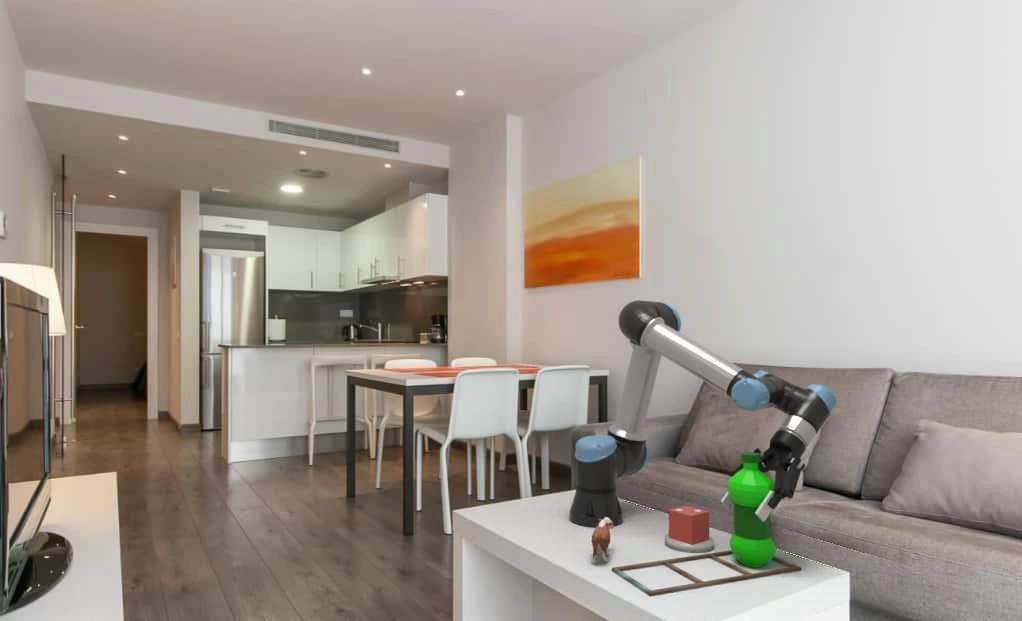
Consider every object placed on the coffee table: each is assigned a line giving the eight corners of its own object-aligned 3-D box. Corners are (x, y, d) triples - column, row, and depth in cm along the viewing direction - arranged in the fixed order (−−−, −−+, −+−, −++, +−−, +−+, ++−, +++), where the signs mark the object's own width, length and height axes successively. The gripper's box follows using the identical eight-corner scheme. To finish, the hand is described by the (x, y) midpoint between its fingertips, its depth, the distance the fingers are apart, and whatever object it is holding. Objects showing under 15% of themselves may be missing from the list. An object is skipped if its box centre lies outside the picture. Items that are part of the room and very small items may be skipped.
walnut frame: (611, 570, 138) (611, 567, 138) (752, 549, 153) (752, 546, 153) (650, 596, 124) (650, 593, 124) (801, 570, 139) (801, 567, 139)
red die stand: (654, 543, 157) (654, 508, 158) (684, 534, 164) (684, 501, 165) (694, 556, 148) (693, 519, 148) (724, 546, 155) (723, 511, 155)
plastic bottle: (734, 569, 139) (732, 457, 140) (725, 554, 149) (724, 449, 151) (781, 572, 137) (779, 458, 138) (769, 556, 147) (767, 450, 149)
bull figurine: (616, 549, 153) (616, 515, 153) (606, 568, 140) (606, 531, 140) (598, 547, 154) (598, 514, 154) (587, 565, 141) (587, 529, 142)
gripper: (841, 457, 139) (789, 535, 133) (765, 442, 161) (717, 509, 154) (823, 435, 138) (770, 513, 131) (748, 422, 159) (699, 489, 153)
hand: (741, 511), depth 143 cm, fingers closed on plastic bottle, 10 cm apart
